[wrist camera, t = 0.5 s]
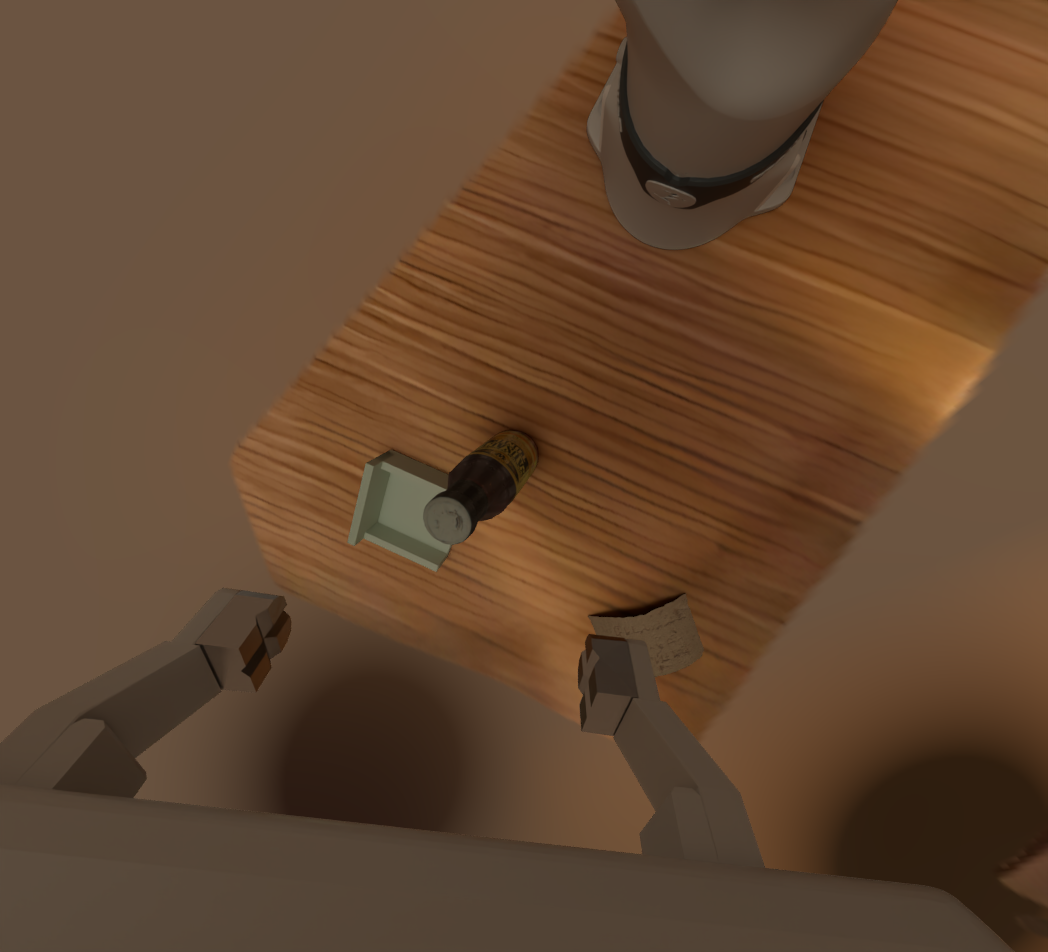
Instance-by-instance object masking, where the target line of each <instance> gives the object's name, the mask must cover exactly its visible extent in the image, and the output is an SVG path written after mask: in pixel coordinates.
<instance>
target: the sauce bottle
mask: <svg viewBox="0 0 1048 952" xmlns="http://www.w3.org/2000/svg"><path fill="white" fill-rule="evenodd" d="M537 463H538V449H537V447H536V445H535V444H534V442H533V440H532V439H531V438H530V437H529V436H527V435H526V434H525V433H522V432H518V431H511V430H507V431H505V432H501V433H498V434H497V435H495V436H494V437H492V438H491V439H490V440H488V441H487V442H486V443H484V444H483V445H481V446H480V447H479V448H477V449H476V450H475V451H473V452H472V453H470V454H469V455H468V456H466V457H465V458H464V459H463V460H462V461H461V462H460V463H459V464H458V465H457V466H456V467H455V468H454V469H453V470H452V471H451V472H450V473H449V475H448V487H447V490H446V491H443V492H441V493H439V494H437V495H436V496H435V497H434V498H432V499H431V501H429V502H428V504H427V505H426V506H425V509H424V512H423V520H424V523H425V527H426V529H427V531H428V532H429V533H430V535H431V536H432V537H433V538H435V539H436V540H438V541H440V542H442V543H444V544H450V545H454V544H458V543H460V542H463V541H464V540H466V539H467V538H468V537H469V536H470V535H471V534H472V533H473V532H474V530H475V528H476V526H477V522H478V521H484V520H488V519H492V518H493V517H495V516H496V515H498V514H500V513H501V512H502V511H504V509H505V508H506V507H507V505H509V504H510V503H511V502H512V501H513V499H514V498H515V497H516V495H517V494H518V493H519V491H520V490H521V489H522V487H523V486H524V484H525V483H526V481H527V480H528V479H529V477H530V476H531V475H532V473H533V472H534V470H535V468H536V465H537Z"/></svg>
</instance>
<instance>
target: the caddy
mask: <svg viewBox="0 0 1048 952" xmlns="http://www.w3.org/2000/svg"><path fill="white" fill-rule="evenodd" d="M447 487H448V474H446V473H443V472H441V471H439V470H437V469H434V468H432V467H430V466H428V465H425V464H423V463H421V462H419V461H416V460H414V459H412V458H409V457H407V456H405V455H403V454H400V453H398V452H396V451H394V450H390V451H388V452H386V453H384V454H382V455H380V456H378V457H376V458H374V459H373V460H371V461H369V462H367V463H366V465H365V469H364V474H363V478H362V482H361V486H360V491H359V495H358V499H357V504H356V508H355V512H354V517H353V521H352V525H351V529H350V534H349V538H348V542H347V543H350V544H352V545H354V546H355V545H356V544H357V543H359V542H360V541H361V540H362V539H363V538H364V539H366V540H368V541H371V542H373V543H375V544H377V545H379V546H381V547H384V548H386V549H388V550H390V551H392V552H394V553H397V554H399V555H401V556H403V557H405V558H407V559H410V560H412V561H414V562H416V563H418V564H420V565H423V566H425V567H427V568H429V569H431V570H434V571H436V572H437V570H438V569H439V568H440V566H441V565H442V564H443V562H444V561H445V560H446V558H447V557H448V554H449V551H450V549H451V546H452V545H450V544H444V543H442V542H440V541H438V540H436V539H435V538H433V537H432V536H431V535H430V533H429V532H428V531H427V529H426V527H425V523H424V520H423V512H424V509H425V506H426V505H427V504H428V502H429V501H431V499H432V498H434V497H435V496H436V495H437V494H439V493H441V492H443V491H446V490H447Z"/></svg>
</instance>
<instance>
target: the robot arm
mask: <svg viewBox="0 0 1048 952" xmlns="http://www.w3.org/2000/svg"><path fill="white" fill-rule="evenodd" d="M615 1H616V3H617V5H618V7H619V8H620V10H621V12H622V14H623V16H624V18H625V21H626V29H627V37H625V38H624V39H623V41H622V43H621V45H620V47H619V49H618V52H617V56H616V61H617V64H616V65H615V67H614V69H613V71H612V73H611V75H610V77H609V79H608V81H607V83H606V84H605V86H604V88H603V90H602V92H601V94H600V96H599V98H598V100H597V102H596V103H595V105H594V107H593V109H592V111H591V113H590V115H589V117H588V121H587V135H588V138H589V141H590V143H591V145H592V147H593V149H594V150H595V152H596V154H597V155H598V157H599V159H600V160H601V164H602V168H603V174H604V182H605V188H606V193H607V197H608V200H609V203H610V206H611V208H612V210H613V212H614V214H615V216H616V217H617V219H618V221H619V222H620V223H621V225H622V226H623V227H624V228H625V229H626V230H627V231H628V232H629V233H630V234H631V235H632V236H634V237H635V238H637V239H638V240H640V241H642V242H643V243H645V244H648V245H650V246H653V247H657V248H661V249H670V250H678V249H687V248H692V247H696V246H699V245H702V244H705V243H707V242H709V241H711V240H714V239H715V238H717V237H719V236H721V235H722V234H724V233H725V232H727V231H728V230H729V229H731V228H732V227H733V226H735V225H736V224H738V223H739V222H740V221H742V220H744V219H746V218H747V217H750V216H754V215H758V214H761V213H765V212H768V211H771V210H773V209H776V208H778V207H779V206H781V205H782V204H783V203H784V202H785V201H786V200H787V199H788V197H789V196H790V194H791V192H792V190H793V187H794V185H795V182H796V179H797V176H798V173H799V170H800V167H801V164H802V161H803V158H804V156H805V153H806V150H807V147H808V144H809V141H810V138H811V135H812V132H813V129H814V127H815V124H816V121H817V118H818V115H819V112H820V109H821V106H822V103H823V101H824V99H825V97H826V96H827V95H828V94H829V93H830V92H831V91H832V90H833V89H834V87H835V86H836V85H837V84H838V83H839V82H840V81H841V80H842V79H843V77H844V76H845V75H846V74H847V73H848V72H849V71H850V70H851V69H852V67H853V66H854V65H855V64H856V63H857V62H858V61H859V59H860V58H861V57H862V56H863V55H864V54H865V52H866V51H867V50H868V48H869V47H870V46H871V44H872V43H873V41H874V40H875V39H876V37H877V36H878V34H879V33H880V31H881V29H882V28H883V26H884V25H885V23H886V21H887V20H888V18H889V16H890V14H891V12H892V10H893V8H894V6H895V5H896V3H897V1H898V0H615ZM286 605H287V604H286V601H285V598H284V596H277V595H271V594H263V593H257V592H250V591H244V590H236V589H229V588H222V589H220V590H218V591H217V592H215V593H214V594H213V596H212V597H211V598H210V599H209V600H208V601H207V602H206V603H205V604H204V606H203V607H202V608H201V609H200V610H199V611H198V612H197V613H196V614H195V616H194V617H193V618H192V619H191V620H190V621H189V622H188V623H187V624H186V626H185V627H184V628H183V629H182V630H181V631H180V632H179V633H178V635H177V636H176V637H175V638H174V639H173V640H172V641H171V642H168V641H165V642H163V643H161V644H159V645H157V646H155V647H153V648H151V649H149V650H147V651H146V652H144V653H142V654H140V655H138V656H136V657H134V658H132V659H131V660H129V661H127V662H125V663H123V664H121V665H119V666H117V667H115V668H114V669H112V670H110V671H108V672H106V673H104V674H102V675H100V676H98V677H97V678H95V679H93V680H91V681H89V682H87V683H85V684H83V685H82V686H80V687H78V688H76V689H74V690H72V691H70V692H68V693H67V694H65V695H63V696H61V697H59V698H57V699H56V700H53V701H51V702H50V703H48V704H46V705H44V706H42V707H40V708H38V709H37V710H35V711H34V712H33V713H32V714H31V715H29V716H28V717H27V718H26V719H25V720H24V721H23V722H22V723H21V724H20V725H19V726H18V727H17V728H16V729H15V730H14V731H13V732H12V733H11V734H10V735H9V736H7V737H6V739H4V740H3V741H2V742H1V743H0V952H1014V951H1013V950H1012V949H1011V948H1010V947H1009V946H1008V945H1007V944H1006V943H1005V942H1004V941H1003V940H1002V939H1001V938H999V936H997V935H996V934H995V933H994V932H993V931H992V930H991V929H990V928H989V927H988V926H986V924H984V923H983V922H982V921H981V920H980V919H979V918H978V917H977V916H976V915H975V914H974V913H972V912H971V911H970V910H969V909H968V908H967V907H966V906H964V905H963V904H962V903H961V902H960V901H959V900H958V899H956V898H955V897H953V896H952V895H950V894H949V893H947V892H945V891H943V890H940V889H937V888H933V887H928V886H923V885H914V884H904V883H895V882H887V881H878V880H869V879H859V878H851V877H842V876H831V875H824V874H814V873H805V872H797V871H787V870H778V869H769V868H765V866H764V863H763V860H762V857H761V854H760V851H759V848H758V845H757V842H756V839H755V836H754V833H753V830H752V827H751V824H750V821H749V818H748V815H747V812H746V809H745V806H744V803H743V800H742V797H741V794H740V792H739V791H738V790H737V789H736V787H735V786H734V785H733V784H732V783H731V781H730V780H729V779H728V777H727V776H726V775H725V774H724V773H723V771H722V770H721V769H720V768H719V766H718V765H717V764H716V763H715V762H714V760H713V759H712V758H711V757H710V755H709V754H708V753H707V752H706V751H705V749H704V748H703V747H702V746H701V744H700V743H699V742H698V741H697V739H696V738H695V737H694V736H693V735H692V733H691V732H690V731H689V730H688V728H687V727H686V726H685V725H684V724H683V722H682V721H681V720H680V719H679V717H678V716H677V715H676V714H675V713H674V711H673V710H672V709H671V708H670V706H669V705H668V704H667V703H666V702H663V701H660V698H659V694H658V690H657V685H656V681H655V677H654V673H653V669H652V665H651V660H650V656H649V652H648V648H647V644H646V643H645V642H644V641H642V640H633V639H625V638H621V637H612V636H603V635H594V634H589V635H588V636H587V638H586V641H585V648H586V650H585V651H583V652H582V653H581V656H580V659H579V666H578V688H579V690H580V691H581V693H582V694H583V697H582V700H581V702H580V718H581V731H584V732H590V733H596V734H603V735H610V736H614V737H613V738H614V740H615V742H616V743H617V745H618V747H619V748H620V750H621V752H622V754H623V755H624V757H625V759H626V761H627V762H628V764H629V766H630V768H631V769H632V771H633V773H634V775H635V776H636V778H637V779H638V782H639V783H640V785H641V787H642V788H643V790H644V792H645V794H646V795H647V797H648V799H649V800H650V802H651V804H652V806H653V808H654V809H655V811H656V812H655V814H654V815H653V816H652V818H651V819H650V820H649V822H648V823H647V824H646V826H645V827H644V828H643V830H642V831H641V832H640V840H641V847H642V854H633V853H624V852H616V851H606V850H597V849H589V848H579V847H571V846H561V845H552V844H542V843H534V842H525V841H516V840H507V839H498V838H489V837H480V836H471V835H462V834H453V833H444V832H433V831H425V830H417V829H408V828H398V827H390V826H381V825H372V824H363V823H354V822H344V821H335V820H326V819H317V818H308V817H299V816H289V815H281V814H272V813H263V812H253V811H244V810H236V809H226V808H218V807H208V806H200V805H190V804H181V803H172V802H163V801H153V800H145V799H135V798H134V796H135V795H136V793H137V792H138V790H139V789H140V788H141V786H142V785H143V783H144V782H145V781H146V779H147V776H146V771H145V770H144V769H143V768H142V767H141V765H140V764H139V763H138V762H137V761H136V759H135V758H136V757H137V756H139V755H140V754H141V753H143V752H144V751H145V750H146V749H147V748H149V747H150V746H152V745H153V744H154V743H156V742H157V741H158V740H159V739H161V738H162V737H163V736H165V735H166V734H167V733H168V732H170V731H171V730H172V729H174V728H175V727H176V726H177V725H179V724H180V723H181V722H183V721H184V720H185V719H187V718H188V717H189V716H191V715H192V714H193V713H194V712H196V711H197V710H198V709H200V708H201V707H202V706H203V705H204V704H206V703H207V702H209V701H210V700H211V699H212V698H214V697H215V696H216V695H218V694H219V693H220V692H221V690H232V691H244V692H257V691H258V689H259V687H260V686H261V684H262V682H263V681H264V679H265V678H266V676H267V674H268V673H269V671H270V670H271V661H270V659H271V658H273V657H274V656H276V655H277V654H279V653H281V652H282V650H283V648H284V647H285V645H286V643H287V641H288V638H289V635H290V632H291V618H290V616H289V615H288V614H287V613H286V612H285V611H284V608H285V607H286Z"/></svg>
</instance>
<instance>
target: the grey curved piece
mask: <svg viewBox="0 0 1048 952" xmlns="http://www.w3.org/2000/svg"><path fill="white" fill-rule="evenodd" d="M588 617H589V619H590V620H591V623H592V625H593V627H594V630H595V632H596V635H603V636H612V637H621V638H625V639H633V640H642V641H644V642H645V643H646V644H647V648H648V652H649V656H650V660H651V665H652V669H653V673H654V677H657V676H659V675H666V674H669V673H671V672H676V671H678V670H679V669H683V668H685V667H687V666H689V665H690V664H692V663H693V662H695V661H696V660H697V659H699V658H700V657H701V656H702V653H703V651H704V649H703V646H702V643H701V641H700V638H699V635H698V633H697V629H696V626H695V622H694V620H693V617H692V614H691V611H690V608H689V607H688V605H687V598H686V594H683V595H682V596H680V597H679V598H678V599H676V600H675V601H674V602H670V603H668V604H665V606H664V607H659V608H657V609H654V610H652V611H650V612H649V613H647V614H646V615H639V616H636V617H625V618H620V617H617V618H614V617H610V618H609V617H598V616H595V617H594V616H588Z"/></svg>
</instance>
